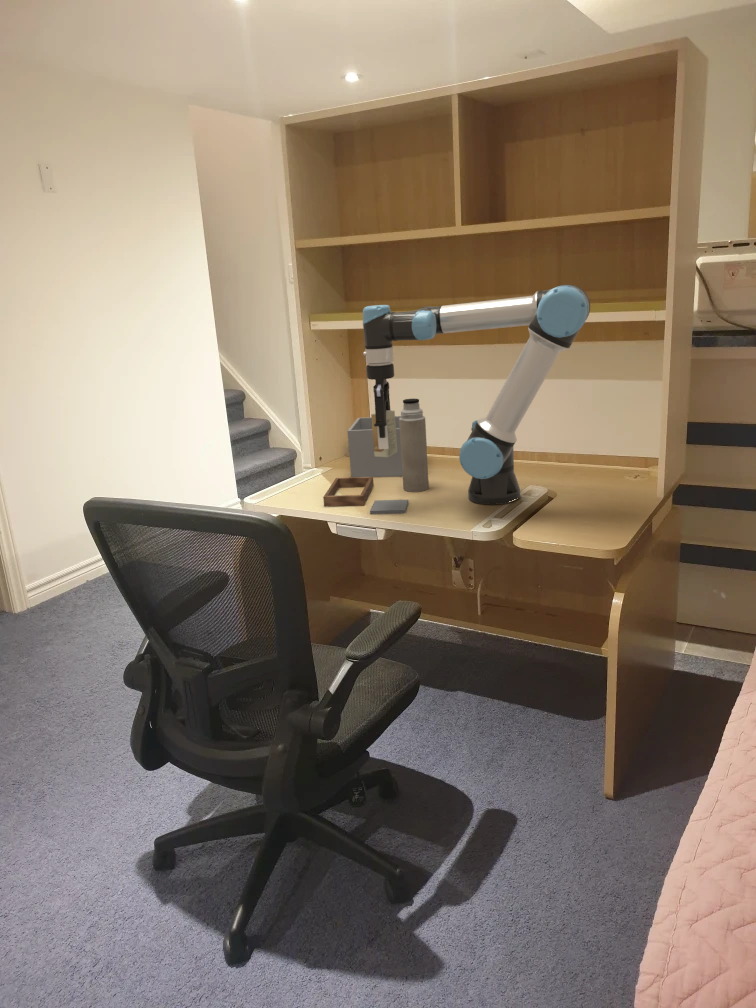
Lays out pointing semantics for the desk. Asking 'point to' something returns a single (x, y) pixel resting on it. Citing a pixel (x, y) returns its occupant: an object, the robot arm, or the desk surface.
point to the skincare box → (391, 435)
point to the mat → (389, 506)
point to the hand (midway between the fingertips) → (385, 445)
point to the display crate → (371, 452)
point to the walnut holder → (348, 499)
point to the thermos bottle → (413, 447)
